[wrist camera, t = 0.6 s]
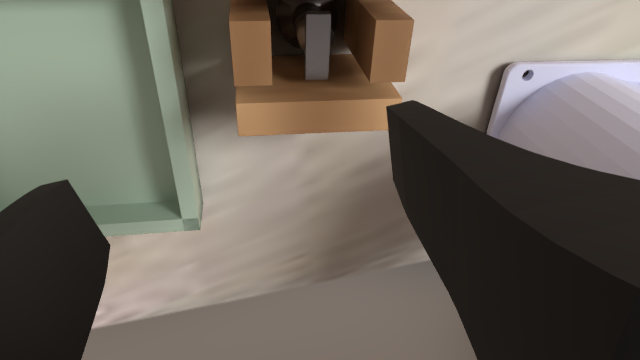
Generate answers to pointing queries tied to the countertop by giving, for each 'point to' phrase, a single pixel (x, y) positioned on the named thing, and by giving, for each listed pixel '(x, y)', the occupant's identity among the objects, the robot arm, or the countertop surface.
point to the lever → (309, 31)
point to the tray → (99, 111)
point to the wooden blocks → (319, 95)
